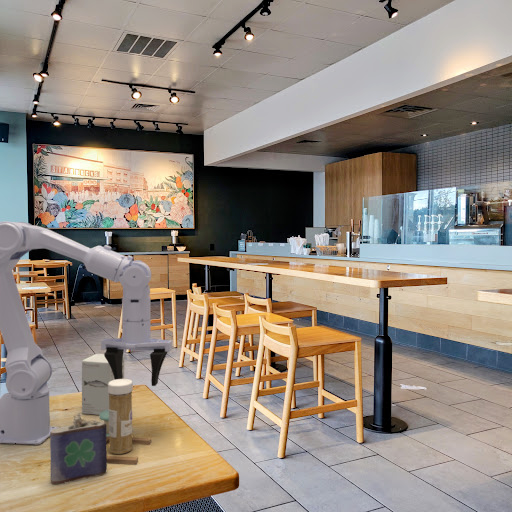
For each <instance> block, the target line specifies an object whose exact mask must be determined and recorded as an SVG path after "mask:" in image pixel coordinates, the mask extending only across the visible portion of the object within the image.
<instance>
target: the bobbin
mask: <svg viewBox="0 0 512 512" xmlns="http://www.w3.org/2000/svg"><path fill="white" fill-rule="evenodd" d="M98 416H99V420H100V421H103V422H105V423H106V426H107V428H106V433H107V436H110V435H109V410H106V411H103V412H101V413H100V414H99V415H98Z"/></svg>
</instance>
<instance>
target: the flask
mask: <svg viewBox="0 0 512 512" xmlns="http://www.w3.org/2000/svg"><path fill="white" fill-rule="evenodd" d="M82 416H83V414H82V413H78V414H76V415H73V418H74V419H73V424H70V425H66V426H60V427H58V428H56V429H53V430H52V431H51V432H50V436H49V437H50V441H49V443H50V444H49V447H50V461H49V462H50V480H49V481H50V483H51V485H62V484H63V485H64V484H65V483H70V482H78V481H80V480H83V479H90V478H95V477H98V476H99V477H100V476H103V475H105V474H107V469H108V463H107V456H108V455H107V453H108V452H107V451H108V450H107V445H108V444H107V442H106V436H107V433H106V428H107V426H106V423H105V422H104V421H103V420H96V419H93V420H87V421H86V420H85V419H83V418H82ZM106 444H107V445H106Z"/></svg>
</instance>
